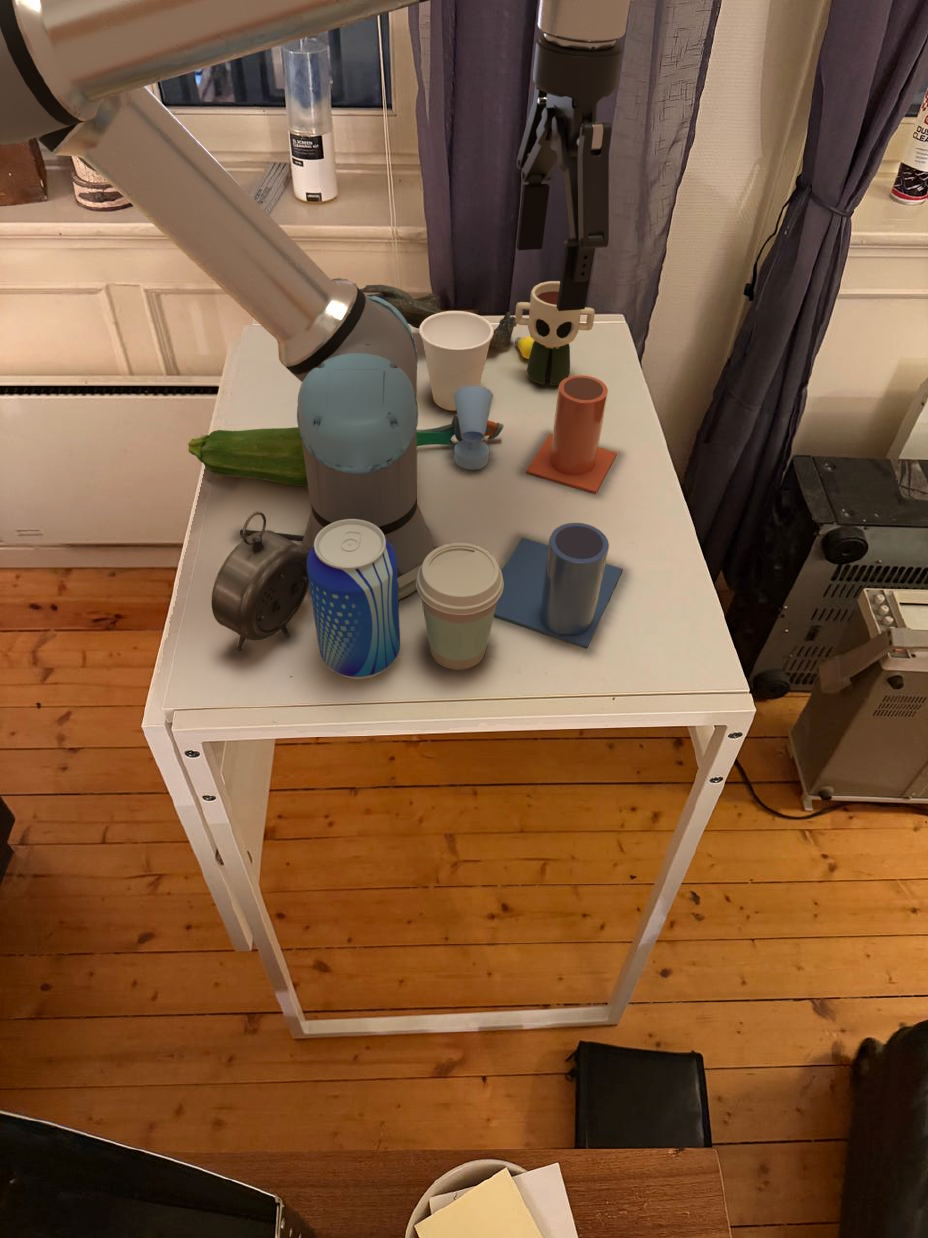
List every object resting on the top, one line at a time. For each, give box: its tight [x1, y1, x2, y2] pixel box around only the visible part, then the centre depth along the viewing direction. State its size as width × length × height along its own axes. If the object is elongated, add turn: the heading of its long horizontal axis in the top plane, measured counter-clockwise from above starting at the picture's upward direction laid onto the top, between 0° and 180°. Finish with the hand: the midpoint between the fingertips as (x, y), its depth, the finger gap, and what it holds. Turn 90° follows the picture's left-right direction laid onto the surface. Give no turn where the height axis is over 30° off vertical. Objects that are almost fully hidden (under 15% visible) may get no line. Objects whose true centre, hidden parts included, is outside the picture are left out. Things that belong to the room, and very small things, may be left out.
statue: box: [331, 277, 518, 347], centre depth 127 cm, size 10×6×30 cm
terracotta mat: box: [525, 433, 618, 495], centre depth 114 cm, size 10×9×1 cm
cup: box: [418, 310, 495, 412], centre depth 119 cm, size 10×10×11 cm
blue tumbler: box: [539, 522, 610, 636], centre depth 91 cm, size 6×6×11 cm
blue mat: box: [494, 536, 624, 649], centre depth 98 cm, size 13×13×1 cm
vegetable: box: [187, 426, 308, 488], centre depth 108 cm, size 7×7×20 cm
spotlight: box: [453, 385, 494, 471], centre depth 111 cm, size 5×10×7 cm
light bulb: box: [514, 335, 535, 360], centre depth 131 cm, size 3×6×4 cm
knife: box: [416, 413, 504, 447], centre depth 114 cm, size 20×2×5 cm, turn 105°
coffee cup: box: [416, 542, 504, 671], centre depth 88 cm, size 8×8×12 cm
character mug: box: [514, 280, 596, 386], centre depth 123 cm, size 11×7×13 cm, turn 83°
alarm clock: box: [210, 510, 310, 653], centre depth 87 cm, size 11×5×16 cm, turn 148°
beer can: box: [307, 519, 401, 680], centre depth 86 cm, size 8×8×16 cm
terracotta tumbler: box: [550, 374, 609, 475], centre depth 110 cm, size 6×6×11 cm
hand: (548, 277), depth 90 cm, fingers open, 13 cm apart
